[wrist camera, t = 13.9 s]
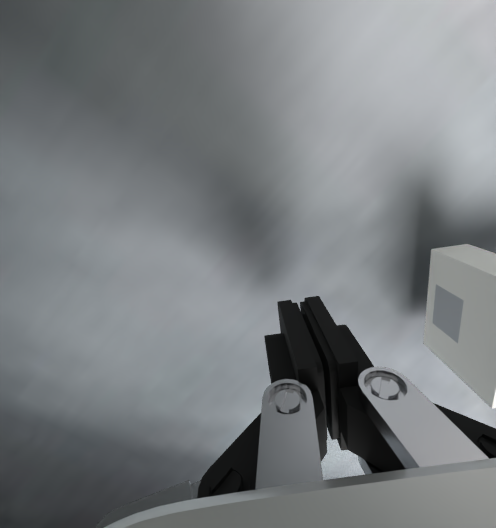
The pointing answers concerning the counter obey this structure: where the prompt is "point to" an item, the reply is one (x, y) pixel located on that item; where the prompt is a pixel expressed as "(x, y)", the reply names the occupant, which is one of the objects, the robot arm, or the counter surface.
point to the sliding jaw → (464, 315)
